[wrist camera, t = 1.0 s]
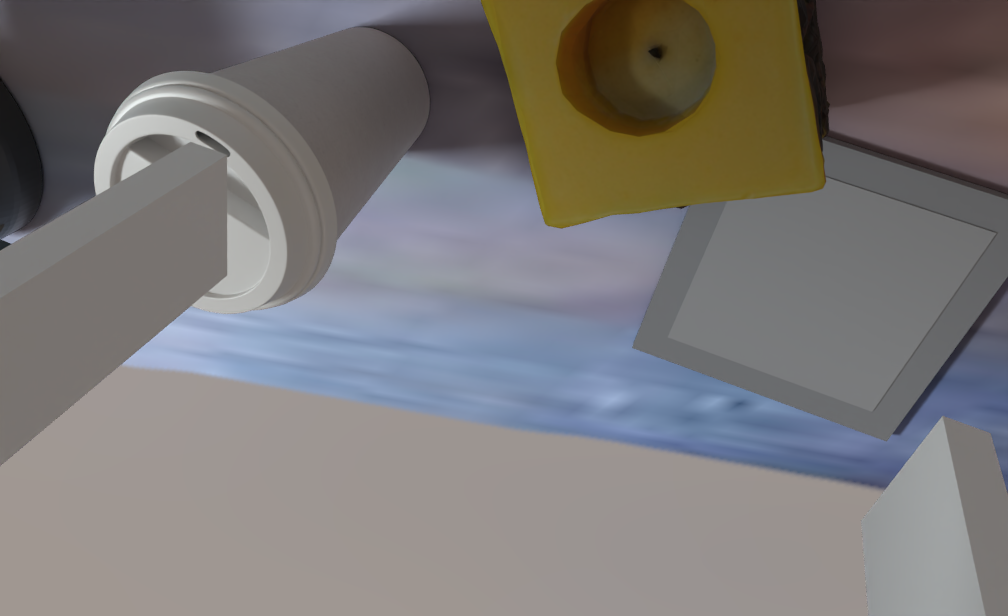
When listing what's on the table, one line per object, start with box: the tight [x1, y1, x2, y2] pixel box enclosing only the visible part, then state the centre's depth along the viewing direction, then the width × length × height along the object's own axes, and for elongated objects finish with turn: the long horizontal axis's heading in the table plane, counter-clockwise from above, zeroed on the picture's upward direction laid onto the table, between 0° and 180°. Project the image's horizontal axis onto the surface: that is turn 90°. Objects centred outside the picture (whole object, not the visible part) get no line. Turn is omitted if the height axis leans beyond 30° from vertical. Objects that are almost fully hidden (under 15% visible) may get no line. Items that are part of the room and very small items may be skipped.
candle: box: [481, 0, 830, 228], centre depth 29 cm, size 10×10×10 cm
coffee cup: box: [94, 27, 430, 314], centre depth 34 cm, size 10×10×15 cm
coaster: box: [632, 136, 1008, 441], centre depth 38 cm, size 14×14×1 cm
